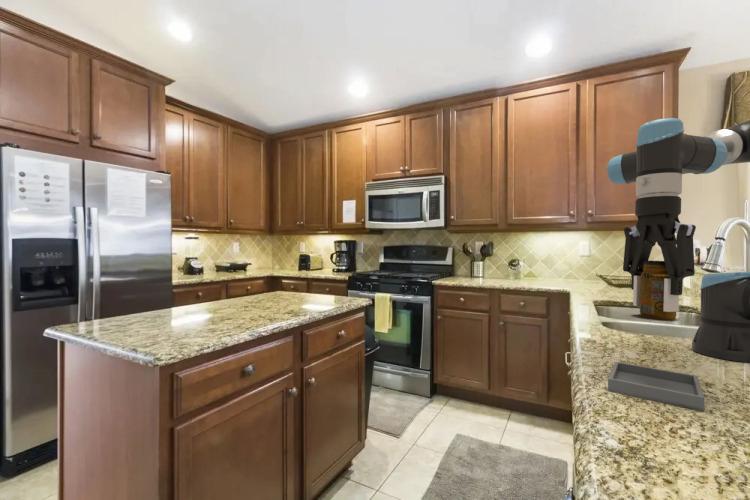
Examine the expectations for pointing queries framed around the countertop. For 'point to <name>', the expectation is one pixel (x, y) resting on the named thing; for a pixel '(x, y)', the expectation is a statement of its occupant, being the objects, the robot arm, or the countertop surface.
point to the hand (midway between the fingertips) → (654, 308)
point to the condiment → (654, 294)
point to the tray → (657, 385)
